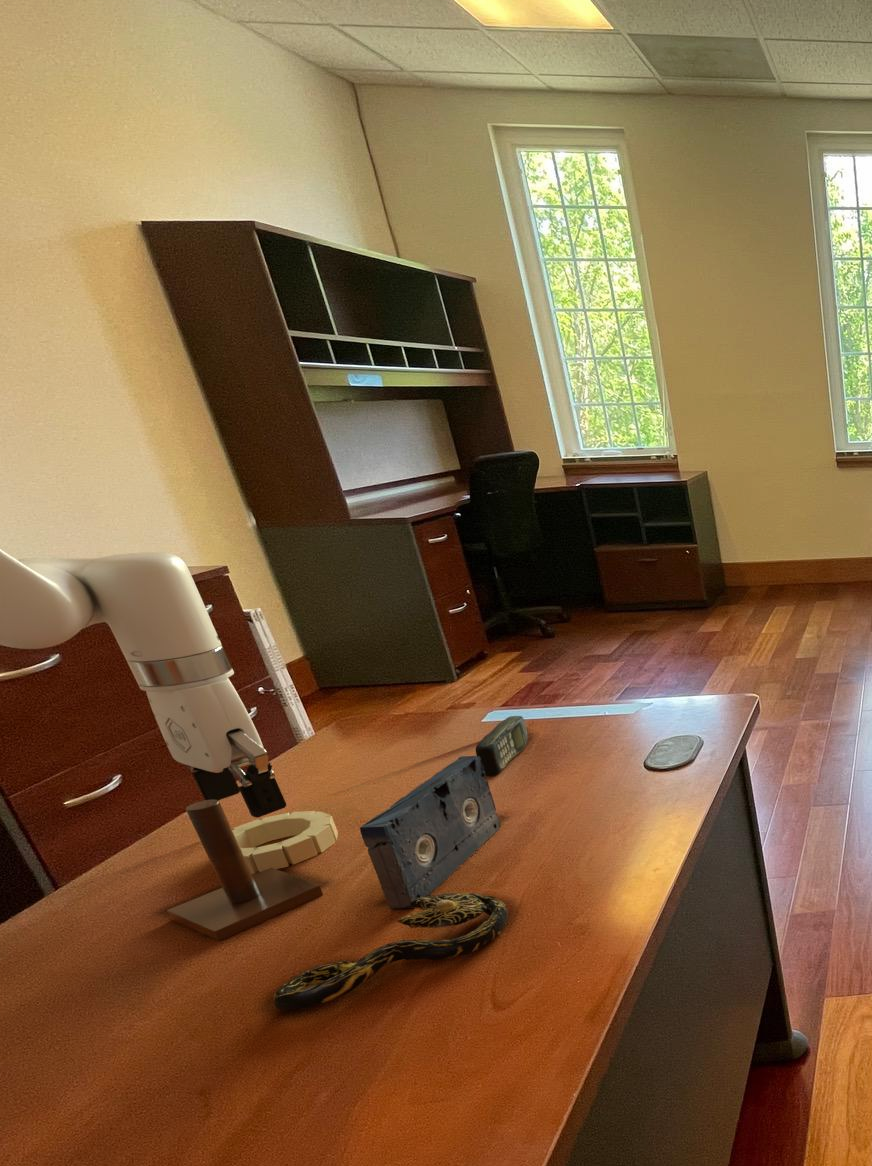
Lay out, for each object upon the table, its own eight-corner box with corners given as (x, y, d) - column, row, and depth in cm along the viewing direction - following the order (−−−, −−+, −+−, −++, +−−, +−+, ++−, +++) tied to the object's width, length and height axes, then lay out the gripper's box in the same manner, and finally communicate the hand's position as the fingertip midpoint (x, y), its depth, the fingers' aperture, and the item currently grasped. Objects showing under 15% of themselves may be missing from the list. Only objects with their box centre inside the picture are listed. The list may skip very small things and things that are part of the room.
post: (171, 919, 81) (117, 815, 76) (275, 876, 89) (232, 779, 84) (219, 941, 78) (167, 833, 73) (323, 894, 85) (282, 794, 81)
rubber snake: (257, 979, 65) (267, 931, 72) (274, 1026, 66) (283, 974, 74) (509, 908, 76) (496, 872, 83) (520, 950, 77) (506, 911, 84)
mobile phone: (493, 746, 111) (528, 707, 125) (469, 747, 111) (507, 708, 124) (502, 777, 113) (536, 736, 127) (478, 779, 113) (515, 737, 126)
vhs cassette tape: (481, 826, 99) (460, 755, 95) (506, 826, 100) (485, 754, 96) (384, 911, 83) (352, 828, 79) (413, 910, 83) (384, 827, 79)
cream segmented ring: (194, 862, 91) (186, 844, 90) (304, 821, 100) (298, 804, 99) (248, 883, 87) (240, 865, 86) (358, 838, 97) (351, 821, 96)
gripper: (97, 668, 87) (167, 805, 94) (180, 688, 80) (249, 833, 87) (184, 650, 93) (244, 780, 100) (268, 667, 87) (325, 804, 94)
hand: (246, 804), depth 94 cm, fingers open, 9 cm apart
